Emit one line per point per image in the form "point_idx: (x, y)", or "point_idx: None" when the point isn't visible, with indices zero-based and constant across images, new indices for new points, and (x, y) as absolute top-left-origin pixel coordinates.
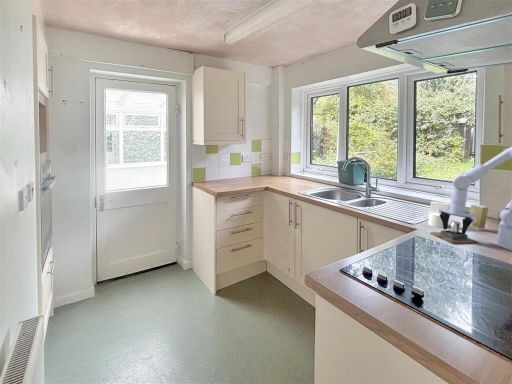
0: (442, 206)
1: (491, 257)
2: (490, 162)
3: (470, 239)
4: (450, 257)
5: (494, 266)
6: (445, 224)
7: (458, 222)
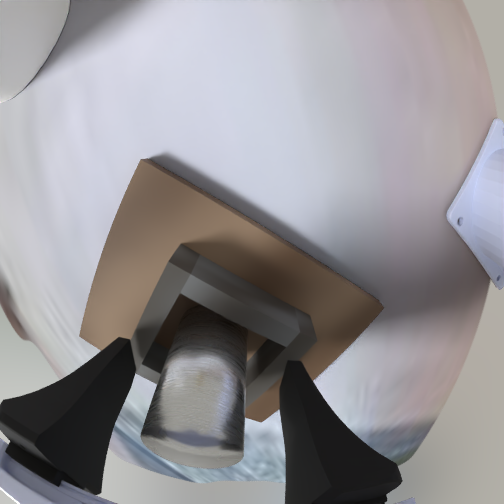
0: None
1: (406, 421)
2: None
3: (333, 297)
4: None
5: (395, 455)
6: (116, 403)
7: (220, 449)
